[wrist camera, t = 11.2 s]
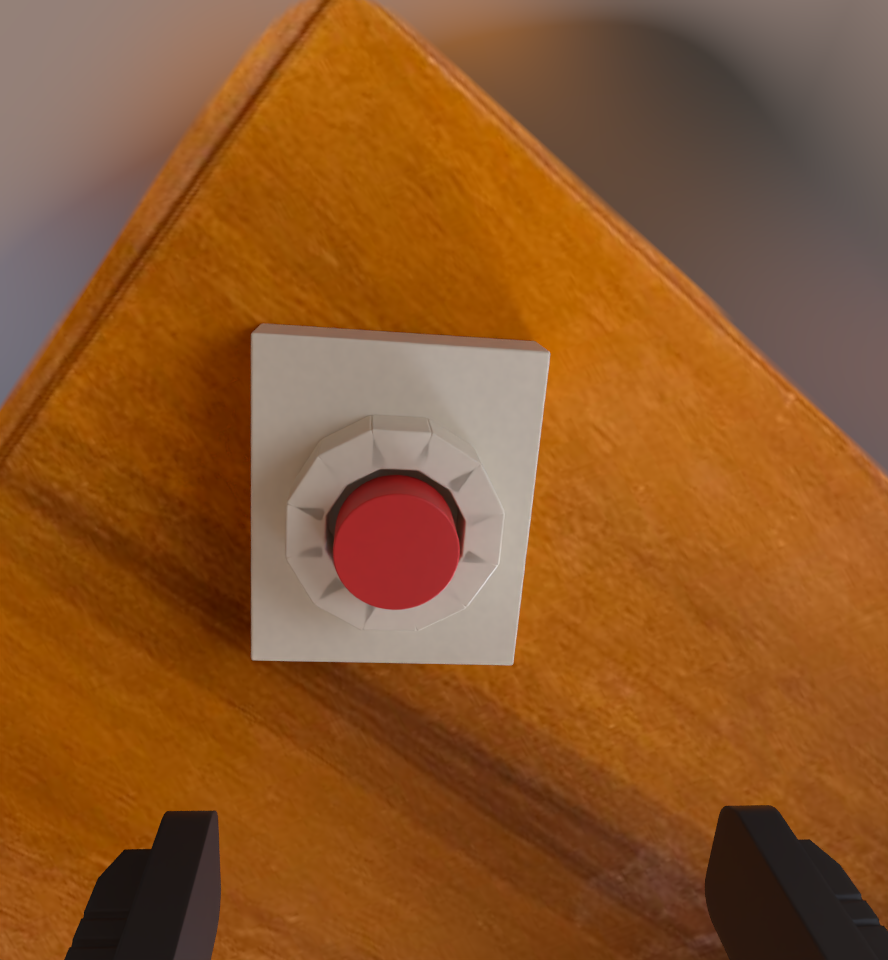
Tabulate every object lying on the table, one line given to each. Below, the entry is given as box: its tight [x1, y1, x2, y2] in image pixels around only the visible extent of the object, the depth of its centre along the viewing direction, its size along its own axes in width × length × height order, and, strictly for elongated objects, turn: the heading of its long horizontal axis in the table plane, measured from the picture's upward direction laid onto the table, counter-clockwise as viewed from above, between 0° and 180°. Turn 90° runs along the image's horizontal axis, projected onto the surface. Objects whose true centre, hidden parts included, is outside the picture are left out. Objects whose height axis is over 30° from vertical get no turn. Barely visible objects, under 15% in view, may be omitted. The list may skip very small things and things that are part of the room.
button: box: [333, 475, 460, 610], centre depth 23 cm, size 4×4×2 cm
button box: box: [251, 324, 550, 665], centre depth 25 cm, size 11×9×4 cm
